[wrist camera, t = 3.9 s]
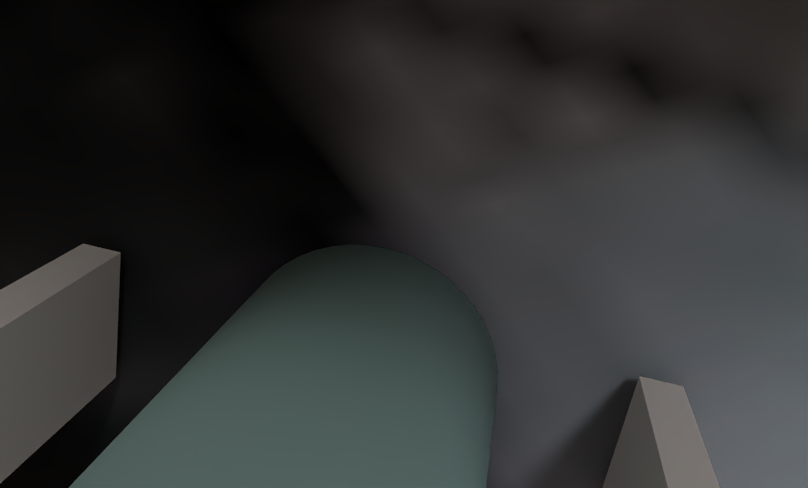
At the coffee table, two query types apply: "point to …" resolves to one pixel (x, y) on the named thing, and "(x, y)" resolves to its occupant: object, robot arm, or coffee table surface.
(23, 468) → the coffee table surface
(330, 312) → the teal capsule
